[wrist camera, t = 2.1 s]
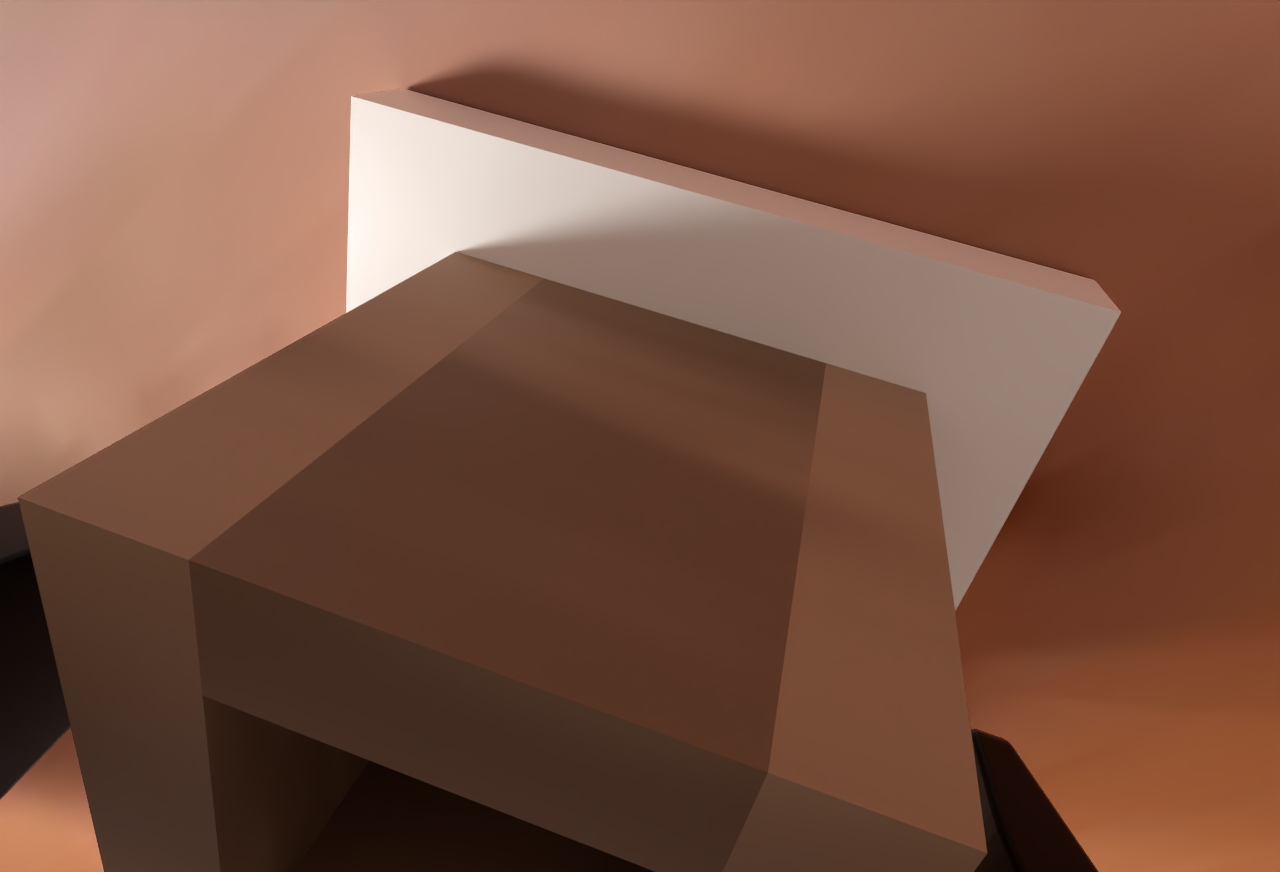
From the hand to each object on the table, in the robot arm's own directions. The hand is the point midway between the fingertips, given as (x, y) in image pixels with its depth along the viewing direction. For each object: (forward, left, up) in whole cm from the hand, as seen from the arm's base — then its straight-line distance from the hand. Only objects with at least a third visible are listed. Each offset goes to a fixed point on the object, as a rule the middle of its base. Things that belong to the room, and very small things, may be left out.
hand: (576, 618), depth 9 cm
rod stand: (0, 0, -3) cm, 3 cm away
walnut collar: (0, 0, -2) cm, 2 cm away
